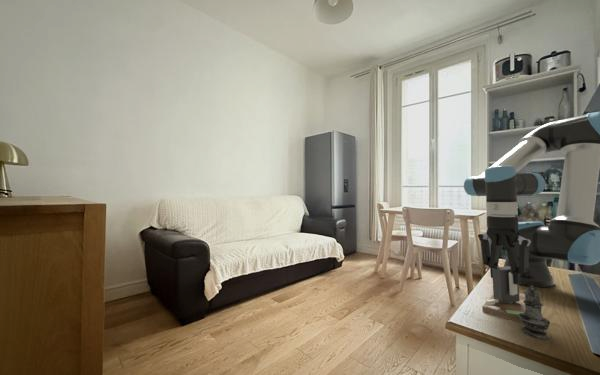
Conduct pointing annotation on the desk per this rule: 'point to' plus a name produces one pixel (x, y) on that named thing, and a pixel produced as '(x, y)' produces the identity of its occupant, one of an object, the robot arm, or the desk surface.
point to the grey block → (502, 286)
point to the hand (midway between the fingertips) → (505, 291)
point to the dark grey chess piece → (533, 315)
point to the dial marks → (506, 310)
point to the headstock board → (506, 308)
